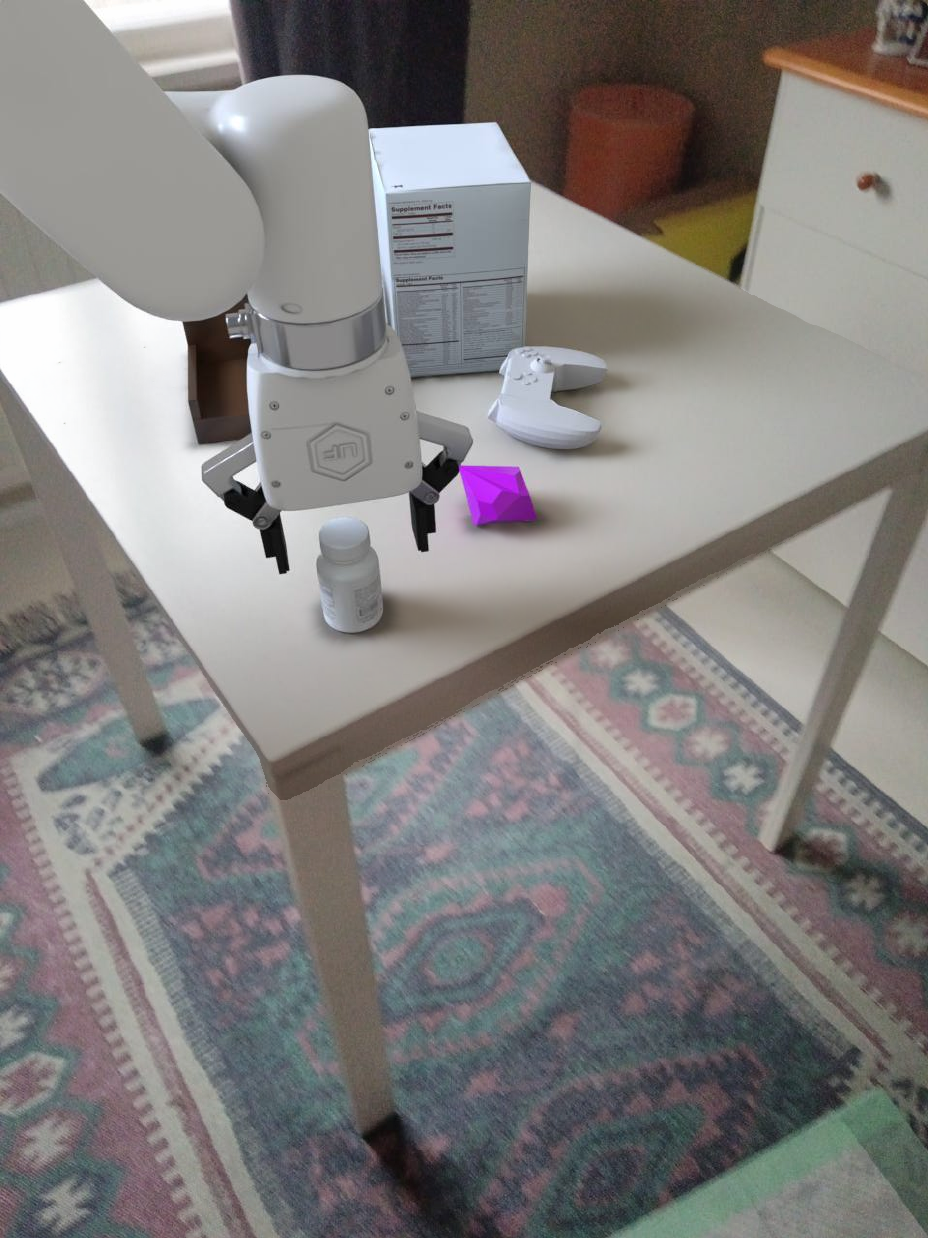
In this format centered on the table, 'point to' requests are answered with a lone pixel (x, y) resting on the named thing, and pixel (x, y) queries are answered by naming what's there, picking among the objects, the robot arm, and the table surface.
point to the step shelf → (217, 379)
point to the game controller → (546, 396)
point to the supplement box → (452, 244)
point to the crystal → (496, 494)
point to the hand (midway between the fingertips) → (352, 550)
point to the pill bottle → (349, 576)
